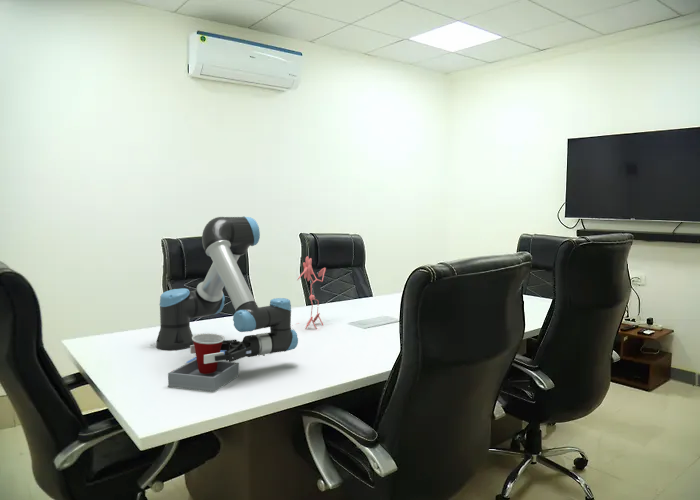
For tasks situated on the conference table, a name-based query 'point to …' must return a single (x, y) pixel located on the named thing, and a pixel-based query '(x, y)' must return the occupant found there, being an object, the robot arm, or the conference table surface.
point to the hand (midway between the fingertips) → (197, 354)
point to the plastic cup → (207, 350)
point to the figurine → (308, 272)
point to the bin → (203, 376)
